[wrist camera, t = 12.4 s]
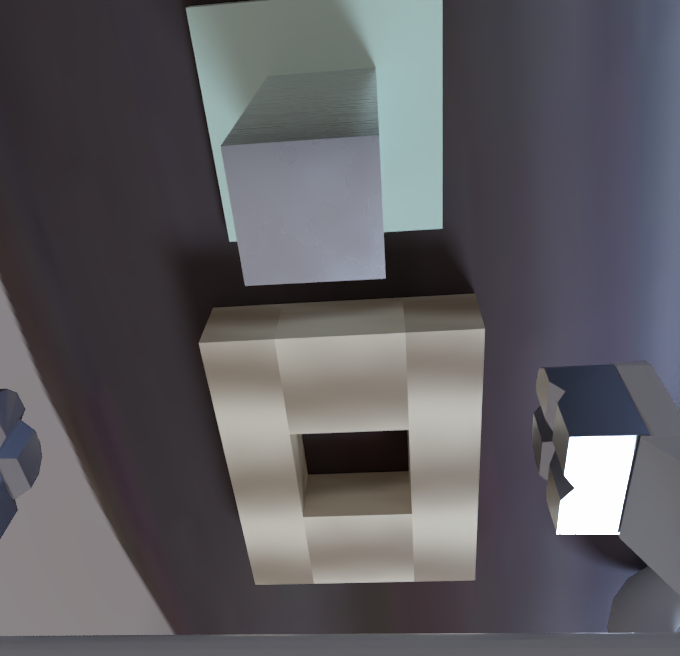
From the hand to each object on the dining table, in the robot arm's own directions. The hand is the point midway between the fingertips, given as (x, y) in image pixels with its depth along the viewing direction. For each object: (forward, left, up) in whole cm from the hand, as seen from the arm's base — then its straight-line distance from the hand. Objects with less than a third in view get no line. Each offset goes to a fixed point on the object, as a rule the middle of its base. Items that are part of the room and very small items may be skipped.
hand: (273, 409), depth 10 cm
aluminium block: (0, 0, -17) cm, 17 cm away
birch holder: (+16, 0, -18) cm, 24 cm away
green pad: (0, 0, -18) cm, 18 cm away
